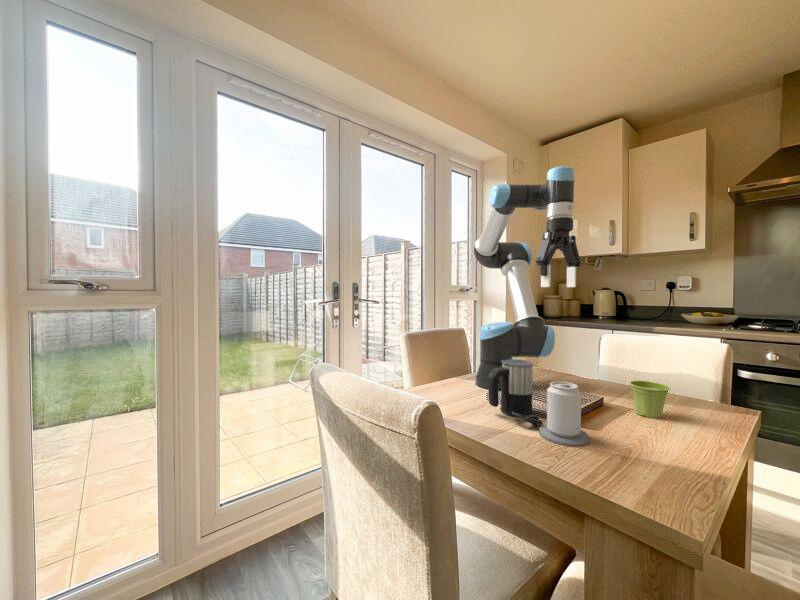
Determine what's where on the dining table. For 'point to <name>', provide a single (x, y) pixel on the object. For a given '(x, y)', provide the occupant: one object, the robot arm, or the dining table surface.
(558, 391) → the can
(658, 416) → the plant pot
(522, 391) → the milk frother
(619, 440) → the dining table surface
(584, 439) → the coaster
